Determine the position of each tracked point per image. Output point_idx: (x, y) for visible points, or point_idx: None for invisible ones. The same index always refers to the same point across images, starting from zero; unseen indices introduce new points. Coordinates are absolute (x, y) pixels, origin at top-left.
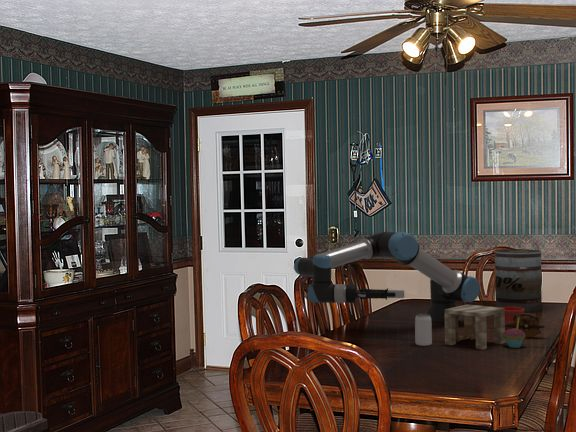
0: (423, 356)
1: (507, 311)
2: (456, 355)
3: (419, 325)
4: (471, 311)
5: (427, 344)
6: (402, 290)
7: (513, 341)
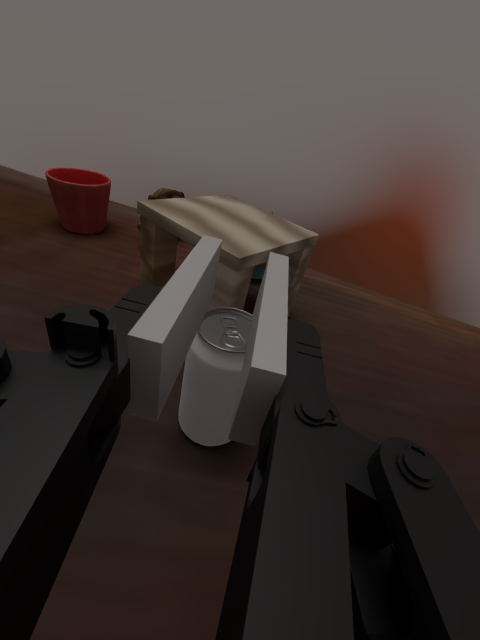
0: None
1: (100, 187)
2: (371, 377)
3: None
4: (286, 235)
5: None
6: (217, 245)
7: None
